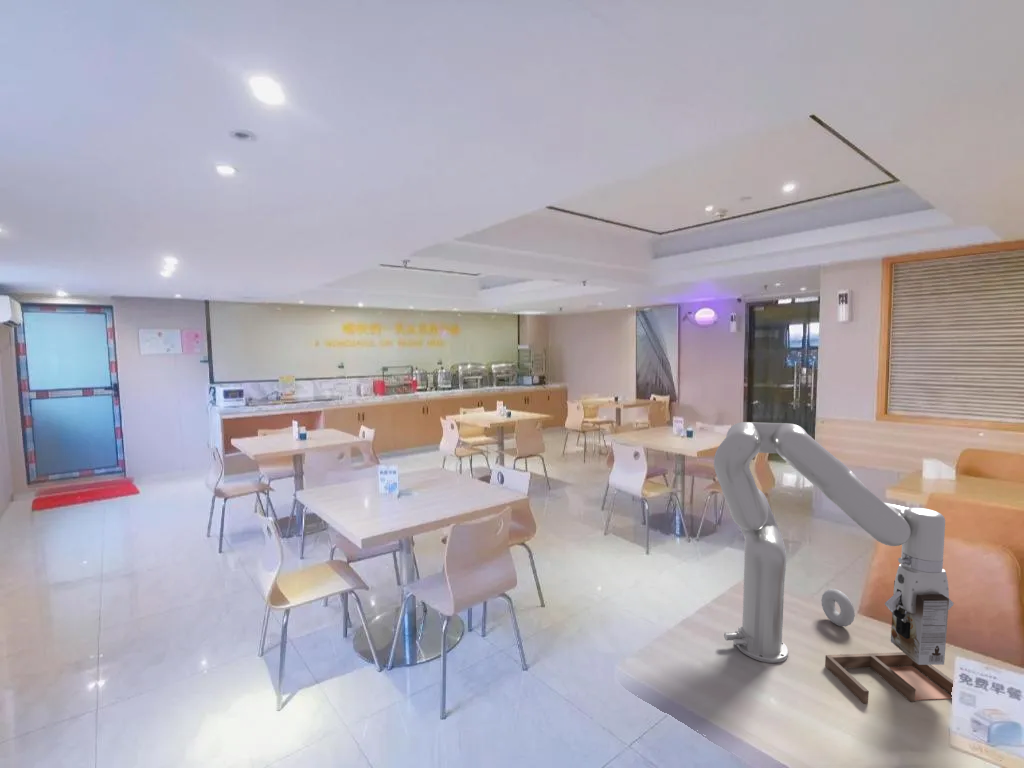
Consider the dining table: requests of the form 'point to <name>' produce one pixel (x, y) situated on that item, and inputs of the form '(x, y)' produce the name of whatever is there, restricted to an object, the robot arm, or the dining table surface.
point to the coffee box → (925, 630)
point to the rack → (892, 675)
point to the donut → (844, 603)
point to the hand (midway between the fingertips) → (917, 634)
